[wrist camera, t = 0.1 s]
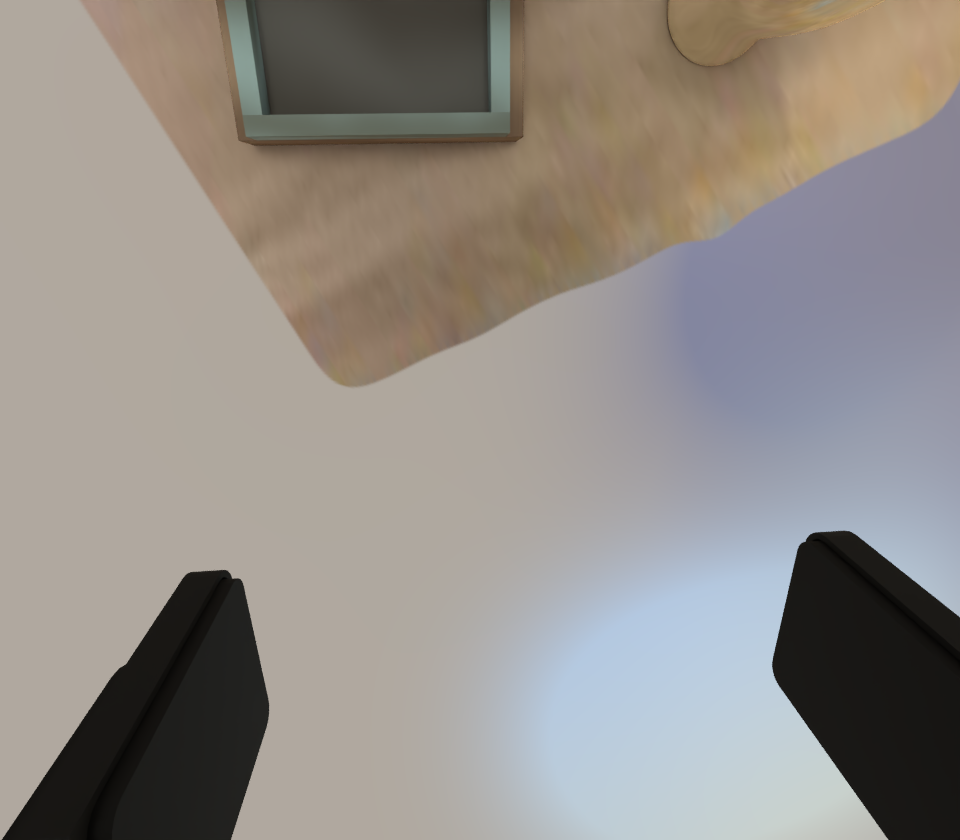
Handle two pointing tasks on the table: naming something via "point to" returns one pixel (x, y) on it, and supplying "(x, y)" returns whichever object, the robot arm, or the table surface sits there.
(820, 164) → the table surface
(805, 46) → the table surface
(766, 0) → the beer glass
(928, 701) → the robot arm
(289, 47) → the dock
